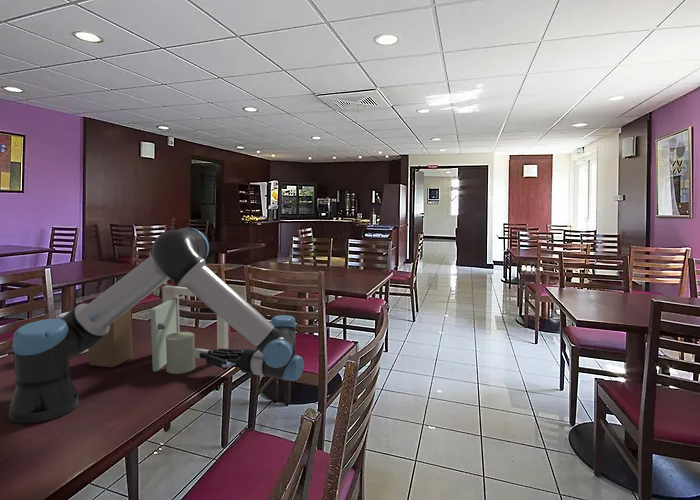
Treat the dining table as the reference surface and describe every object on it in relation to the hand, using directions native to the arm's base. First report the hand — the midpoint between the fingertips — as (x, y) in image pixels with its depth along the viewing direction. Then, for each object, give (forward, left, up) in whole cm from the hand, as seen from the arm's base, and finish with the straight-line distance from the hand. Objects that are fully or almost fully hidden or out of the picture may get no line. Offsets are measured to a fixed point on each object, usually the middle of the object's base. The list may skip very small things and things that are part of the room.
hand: (194, 352), depth 139 cm
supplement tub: (-1, +53, -7) cm, 54 cm away
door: (+3, +14, -6) cm, 16 cm away
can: (0, +6, -7) cm, 9 cm away
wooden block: (-4, +32, -7) cm, 33 cm away
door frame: (+12, +10, -6) cm, 17 cm away
